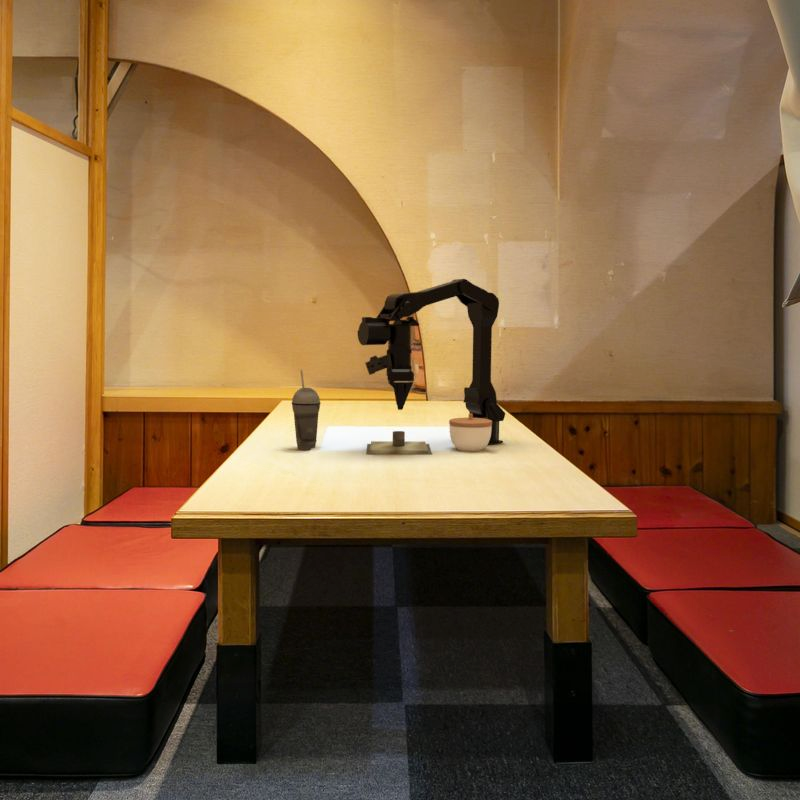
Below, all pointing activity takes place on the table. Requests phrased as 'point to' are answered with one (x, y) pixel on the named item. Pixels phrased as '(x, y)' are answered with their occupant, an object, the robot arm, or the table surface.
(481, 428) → the lidded jar
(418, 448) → the lid
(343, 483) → the table surface
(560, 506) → the table surface
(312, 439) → the beverage cup
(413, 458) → the table surface
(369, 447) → the mat
